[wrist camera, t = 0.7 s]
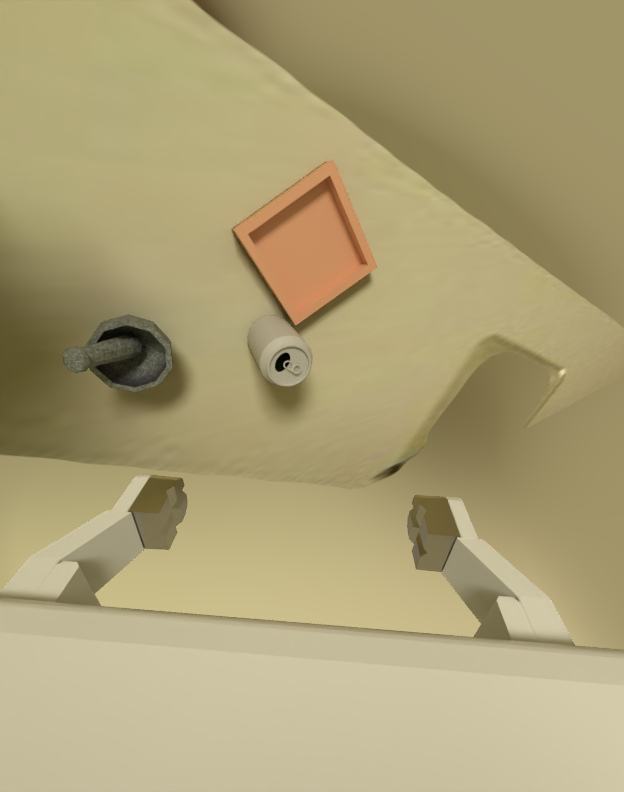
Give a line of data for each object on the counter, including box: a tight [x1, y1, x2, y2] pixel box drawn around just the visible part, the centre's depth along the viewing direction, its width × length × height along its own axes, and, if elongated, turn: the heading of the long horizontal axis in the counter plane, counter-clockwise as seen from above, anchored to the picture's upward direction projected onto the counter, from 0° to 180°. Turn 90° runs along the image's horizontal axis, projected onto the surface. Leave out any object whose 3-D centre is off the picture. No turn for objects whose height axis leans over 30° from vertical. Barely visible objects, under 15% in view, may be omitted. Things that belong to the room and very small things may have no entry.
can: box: [247, 316, 312, 387], centre depth 50 cm, size 8×8×12 cm
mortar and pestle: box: [62, 315, 172, 392], centre depth 43 cm, size 11×9×12 cm
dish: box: [232, 160, 377, 325], centre depth 48 cm, size 15×15×3 cm
